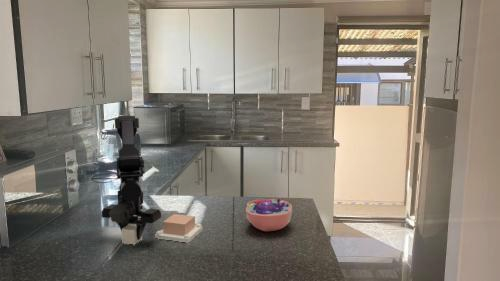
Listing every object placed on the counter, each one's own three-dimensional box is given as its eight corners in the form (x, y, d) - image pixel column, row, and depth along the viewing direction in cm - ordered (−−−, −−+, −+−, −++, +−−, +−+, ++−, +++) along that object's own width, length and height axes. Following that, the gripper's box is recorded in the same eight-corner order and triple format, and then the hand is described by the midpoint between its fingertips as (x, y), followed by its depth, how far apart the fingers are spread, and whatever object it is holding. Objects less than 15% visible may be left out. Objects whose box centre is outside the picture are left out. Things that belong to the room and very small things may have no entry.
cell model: (299, 222, 140) (300, 193, 138) (281, 242, 122) (281, 209, 120) (258, 216, 147) (258, 188, 145) (235, 233, 129) (235, 202, 127)
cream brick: (122, 243, 120) (121, 228, 119) (130, 238, 124) (129, 223, 124) (134, 245, 119) (133, 230, 118) (142, 239, 123) (141, 225, 122)
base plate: (155, 238, 124) (154, 223, 123) (172, 226, 135) (171, 211, 134) (187, 243, 120) (187, 227, 120) (202, 229, 132) (202, 215, 131)
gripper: (88, 196, 114) (91, 244, 116) (142, 202, 109) (144, 252, 111) (111, 187, 125) (113, 231, 127) (161, 192, 120) (162, 238, 122)
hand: (132, 238), depth 121 cm, fingers closed on cream brick, 4 cm apart
